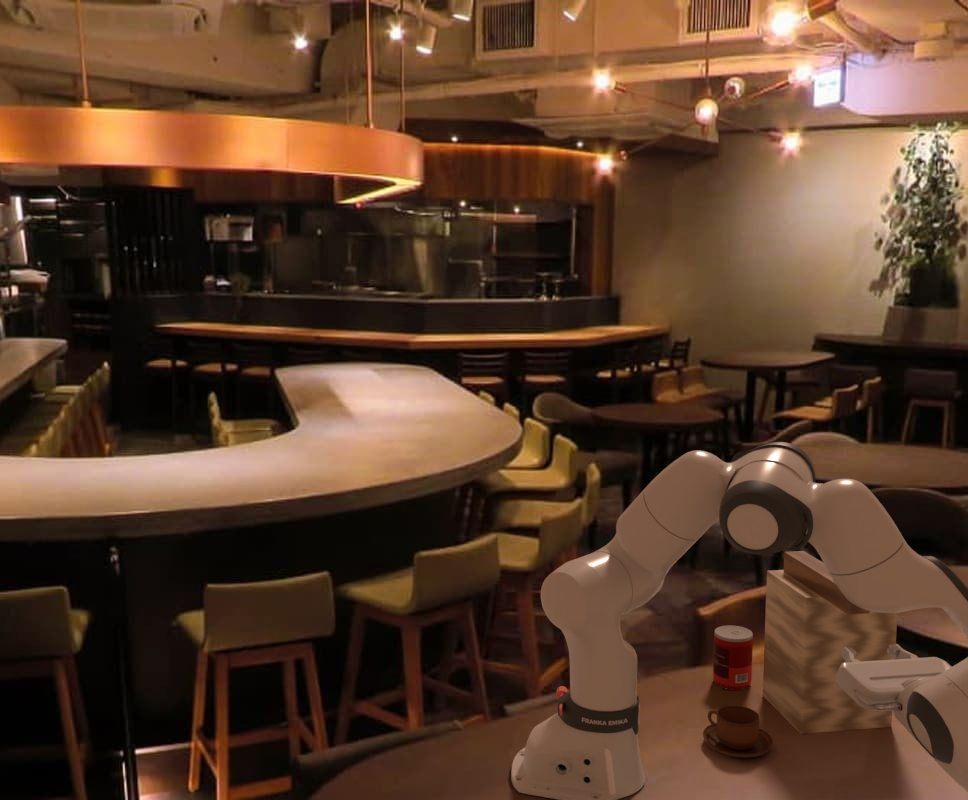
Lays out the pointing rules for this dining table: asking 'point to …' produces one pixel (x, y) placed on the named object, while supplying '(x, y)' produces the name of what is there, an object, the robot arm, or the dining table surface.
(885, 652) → the zigzag patterned box
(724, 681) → the canned food
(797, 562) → the walnut block
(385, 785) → the dining table surface
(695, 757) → the dining table surface
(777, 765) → the dining table surface
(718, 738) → the cup and saucer
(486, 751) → the dining table surface
